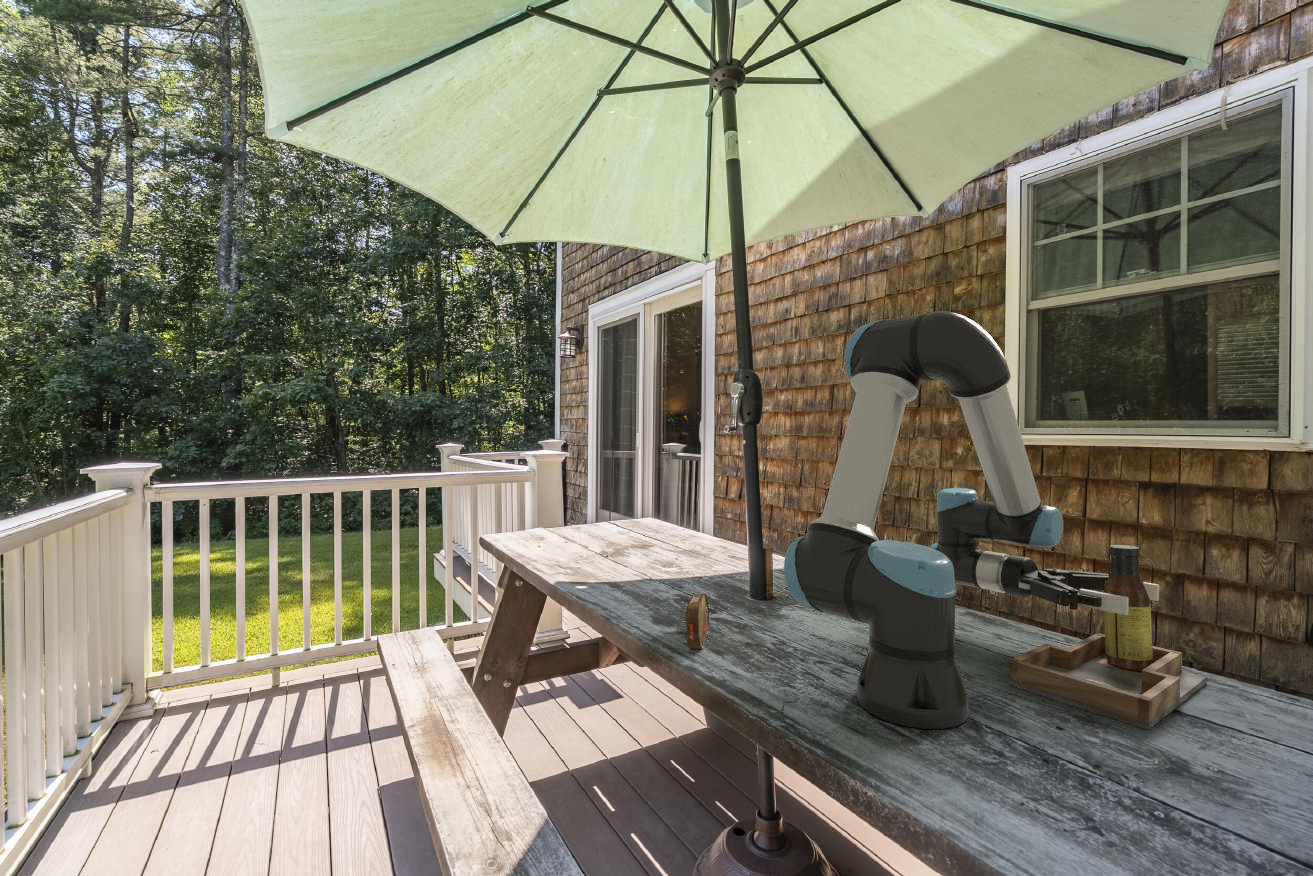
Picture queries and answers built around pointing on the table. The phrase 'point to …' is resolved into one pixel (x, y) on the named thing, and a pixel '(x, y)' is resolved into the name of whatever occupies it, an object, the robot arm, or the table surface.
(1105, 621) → the sauce bottle
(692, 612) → the tin
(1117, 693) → the keyhole guide
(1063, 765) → the table surface
